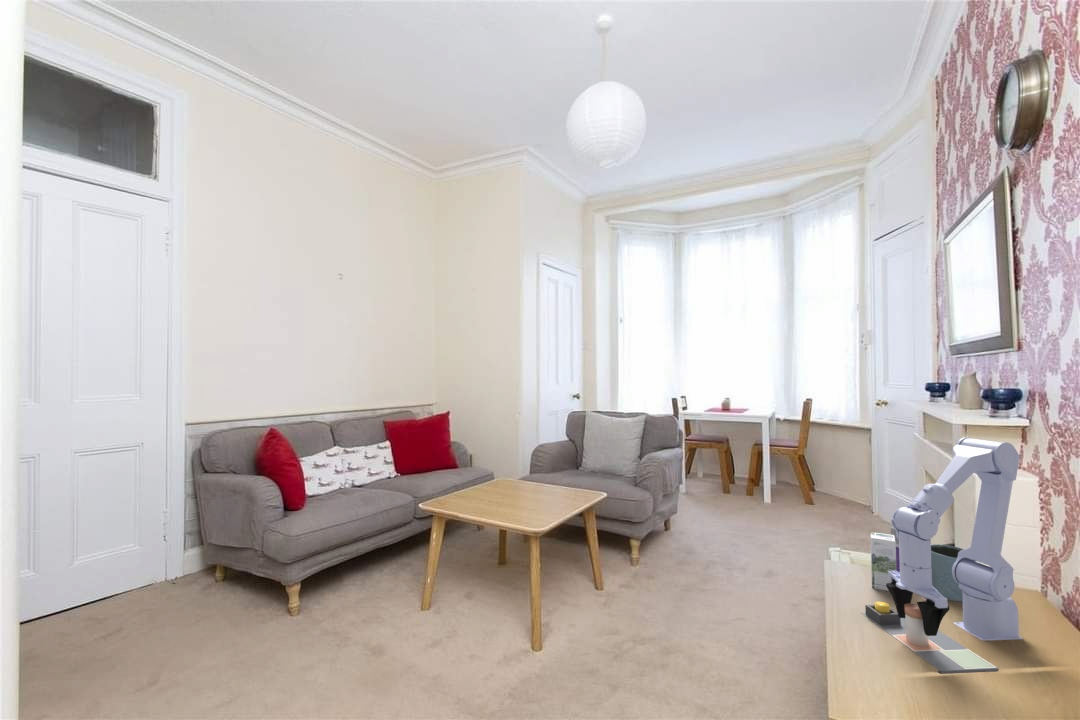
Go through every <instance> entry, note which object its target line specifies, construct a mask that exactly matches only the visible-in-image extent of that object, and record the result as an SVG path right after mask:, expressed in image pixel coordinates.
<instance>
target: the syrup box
mask: <svg viewBox="0 0 1080 720" xmlns="http://www.w3.org/2000/svg"><path fill="white" fill-rule="evenodd" d="M888 571H896V542H895V536H894V535H891V534H890V533H889V534H888V533H879V532H873V531H871V532H870V573H871V575H870V577H871V588H872V589H876V590H882V591H889V590H888V588H887V587H886V584H887V583H891V582H892V581H891V580H889V579H888Z"/></svg>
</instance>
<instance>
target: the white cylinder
mask: <svg viewBox="0 0 1080 720" xmlns="http://www.w3.org/2000/svg"><path fill="white" fill-rule="evenodd" d="M905 620H906V641H907V642H909V643H910V644H912V645H915V646H919V647H927V646H928V645H929V641H928V636H927V635H925V632H924V628H923V619H922V615H921V611H920V609H919V607H918V605H917V603H913V602H911V603H908V604H905Z"/></svg>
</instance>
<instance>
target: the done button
mask: <svg viewBox="0 0 1080 720" xmlns="http://www.w3.org/2000/svg"><path fill="white" fill-rule="evenodd" d="M874 605H875V610H876V611H878V612H879V613H890V608H891V605H890V604H889V603H887V602H883V601H875V602H874Z"/></svg>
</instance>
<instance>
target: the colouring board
mask: <svg viewBox="0 0 1080 720" xmlns="http://www.w3.org/2000/svg"><path fill="white" fill-rule="evenodd" d="M860 614H861V615H863V616H864V617H865V618H867V619H868V620H870V621H871V622H872V623H874V624H875V625H876V626H878V627H879V628H880V629H882V630H883V631H885V632H886V633H887V634H889V635H890V636H891V637H892V638H894V639H895V640H897V641H899V642H900V643H901V644H902V645H904V646H905V647H907V648H908V649H909V650H911V651H912V652H913V653H915V654H917V656H918V657H920V658H921V659H923V660H924V661H925V662H927V663H928V664H930V665H931V666H932V667H934V668H935V669H937V670H938V671H937V673H939V674H940V675H944V674H945V675H946V674H947V675H950V674H968V673H969V674H970V673H972V674H973V673H990V672H991V673H992V672H999V667H997V666H995V665H994V664H992V663H991V662H989V661H987V660H986V659H985V658H983V657H981V656H979V655H978V654H977V653H975V652H974V651H972V650H970V649H969V648H967V647H966V646H964V645H962V644H961V643H959V642H958V641H956V640H954V639H953V638H952V637H950V636H948V635H947V634H945V633H944V632H942V631H940V630H939V629H938V632H937V635H936V636H928V641H929V645H928V646H927V647H919V646H915V645H912V644H910V643H909V642H907V641H906V620H905V618H900V619H901V624H898V625H879V624H878V623H876V622H875V621H873V620H872V619H871V618H869V617H868V616H867V615H866V612H861V613H860Z"/></svg>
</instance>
